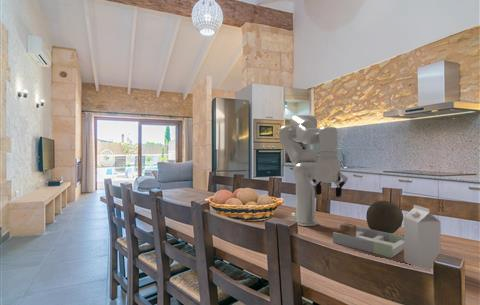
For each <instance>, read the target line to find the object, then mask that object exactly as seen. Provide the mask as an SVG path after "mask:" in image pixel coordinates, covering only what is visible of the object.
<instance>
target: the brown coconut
mask: <svg viewBox="0 0 480 305" xmlns="http://www.w3.org/2000/svg"><path fill="white" fill-rule="evenodd" d="M365 216H366V218H365V219H366V223H367V226H368V229H371V230H376V231H381V232H386V233H391V234H395V233H396V232H397V231H398V230H399V229H400V227H401V226H402V223H404V214H403V211H402V209H401V208H400V207H399V206H398V205H396V203H393V201H388V200H387V201H386V200H377V201H374V202H373V203H372V204H371V205H369V206H368V208H367V210H366V215H365Z"/></svg>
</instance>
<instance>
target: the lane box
mask: <svg viewBox="0 0 480 305" xmlns="http://www.w3.org/2000/svg"><path fill="white" fill-rule="evenodd" d="M332 243H334V244H338V245H341V246H345V247H348V248H352V249H356V250H360V251H363V250H364V252H367V251H368V252H367V253H371V252H372V254H375V253H376V255H379V254H380V255H379V256H382V255H383V256H384V257H387V258H392V259H393V257H395V256H396V255H397V254H399V253H400V252H402V251H404V235H402V234H401V235H400V234H395V233H392V234H391V233H386V232H381V231H376V230H371V229H370V228H366V227H362V226H361V227H360V226H356V236H355V237H353V236H348V235H344V234H340V233H339V232H335V231H333V232H332ZM383 256H382V257H383Z"/></svg>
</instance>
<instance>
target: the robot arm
mask: <svg viewBox="0 0 480 305" xmlns="http://www.w3.org/2000/svg"><path fill="white" fill-rule="evenodd" d="M278 139H279V142H280V145H281V147H283V149H284V150H285V152H286V153H287V155H288V158H289V160H290V162H291V164H292V166H294V168H293V175H294V180H295V212H291V214H290V217H291V218H293V220H292V222H293V221H297V222H298V225H297V226H300V227H301V226H302V227H315V226H318V225H319V221H318V220H316V211H315V210H316V199H315V198H316V196H317V195H322V184H321V183H334V185H335V186H336V187H335V198H340V197H341V196H342V189H343V187H344V185H346V182H347V181H348V180H349V179H348V176H346V175H344V174H343V173H341V172H342V171H341V170H342V169H341V164H340V159H339V158H338V128H337V127H335V126H323V127H320V128H318V119H317V118H316V117H315V116H314V115H309V114H308V115H307V114H305V115H303V114H301V115H299V114H296V115H294V116H292V117H291V118H290V121H289V124H287V125H282V126H281V127H279V130H278ZM297 140H298V141H299V142H298V141H297ZM300 143H302V144H303V145H307V146H308V145H318V151H317V150H315V149H303V147H302V146H301V145H300ZM312 182H313V184H314V186H315V187H314V186H313V184H312ZM315 194H316V195H315Z"/></svg>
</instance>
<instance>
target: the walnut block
mask: <svg viewBox="0 0 480 305" xmlns="http://www.w3.org/2000/svg"><path fill="white" fill-rule="evenodd" d="M339 226H340V227H339V228H340V229H339V230H340V231H339V232H340V234H344V235H348V236H353V237H355V236H356V227H357V225H356V224H353V223H352V224H351V223H347V222H345V223H342V224H340V225H339Z"/></svg>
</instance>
